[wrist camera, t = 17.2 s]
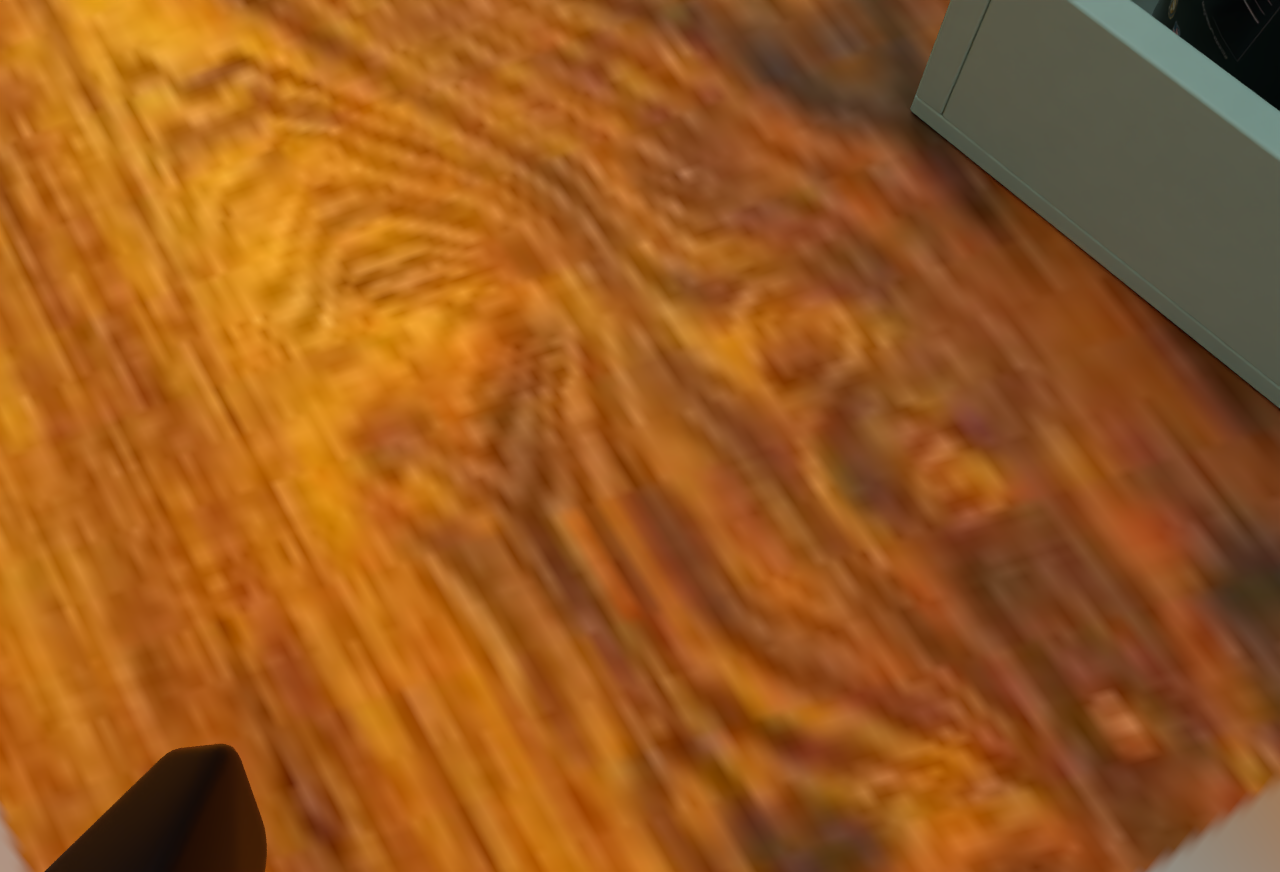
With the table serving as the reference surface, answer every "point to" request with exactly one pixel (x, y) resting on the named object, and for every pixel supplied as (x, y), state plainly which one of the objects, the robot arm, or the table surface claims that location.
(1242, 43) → the supplement bottle
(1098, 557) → the table surface
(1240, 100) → the open storage bin
